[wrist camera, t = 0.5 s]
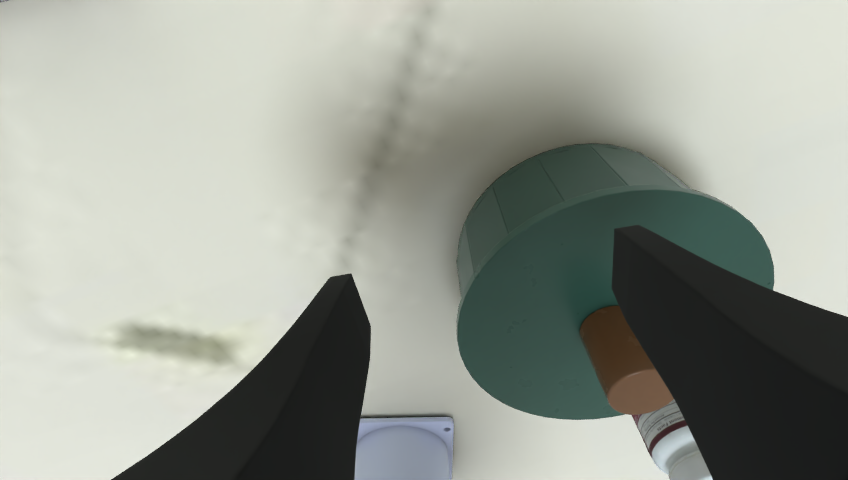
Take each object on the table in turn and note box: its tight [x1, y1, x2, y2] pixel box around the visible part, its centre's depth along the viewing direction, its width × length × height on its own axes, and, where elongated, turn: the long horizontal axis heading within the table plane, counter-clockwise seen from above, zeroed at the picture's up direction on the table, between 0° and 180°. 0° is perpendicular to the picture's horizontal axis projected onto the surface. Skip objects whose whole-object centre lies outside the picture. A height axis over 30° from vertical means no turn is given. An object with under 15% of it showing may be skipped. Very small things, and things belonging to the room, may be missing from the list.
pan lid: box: [457, 184, 774, 420], centre depth 18 cm, size 13×13×4 cm
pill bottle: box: [632, 400, 713, 480], centre depth 25 cm, size 5×5×8 cm
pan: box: [457, 144, 690, 298], centre depth 21 cm, size 12×12×6 cm
